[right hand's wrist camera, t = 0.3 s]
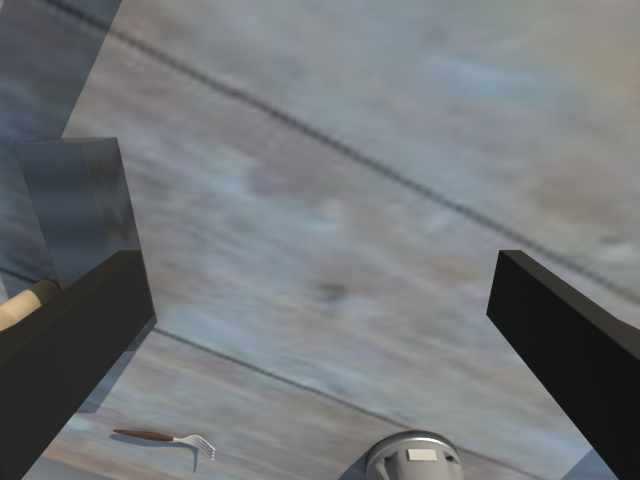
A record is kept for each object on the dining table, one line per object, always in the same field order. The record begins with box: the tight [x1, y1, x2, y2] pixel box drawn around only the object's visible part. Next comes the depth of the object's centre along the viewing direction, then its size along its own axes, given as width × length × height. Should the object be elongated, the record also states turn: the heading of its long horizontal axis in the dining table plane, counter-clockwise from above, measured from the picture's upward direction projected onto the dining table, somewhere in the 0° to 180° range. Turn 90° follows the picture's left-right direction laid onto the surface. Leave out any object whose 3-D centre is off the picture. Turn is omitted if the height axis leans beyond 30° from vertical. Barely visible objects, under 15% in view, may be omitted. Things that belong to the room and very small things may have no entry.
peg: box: [0, 280, 61, 331], centre depth 38 cm, size 3×3×14 cm
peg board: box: [14, 137, 157, 351], centre depth 39 cm, size 24×6×6 cm, turn 1°
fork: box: [113, 430, 215, 460], centre depth 53 cm, size 3×16×2 cm, turn 77°
